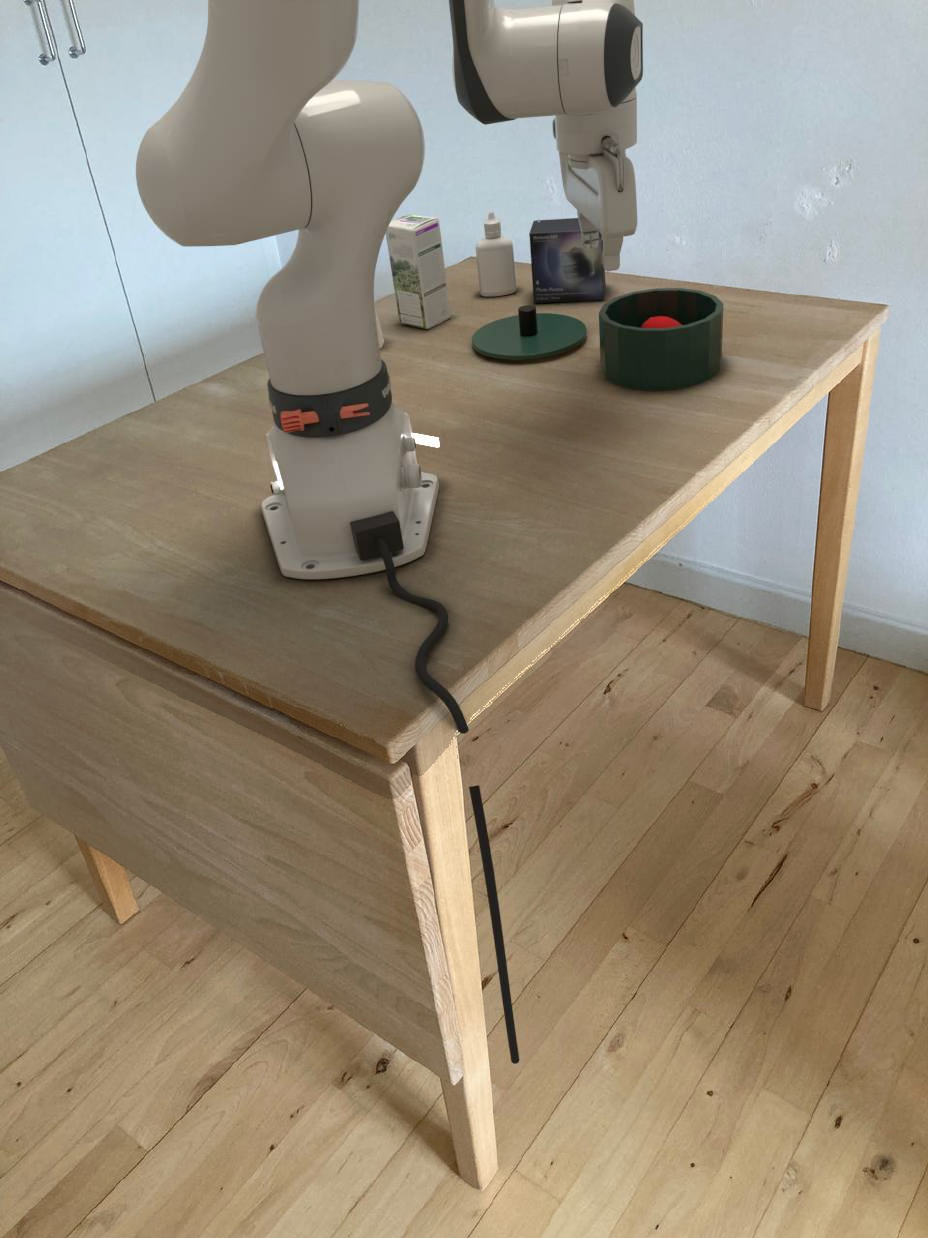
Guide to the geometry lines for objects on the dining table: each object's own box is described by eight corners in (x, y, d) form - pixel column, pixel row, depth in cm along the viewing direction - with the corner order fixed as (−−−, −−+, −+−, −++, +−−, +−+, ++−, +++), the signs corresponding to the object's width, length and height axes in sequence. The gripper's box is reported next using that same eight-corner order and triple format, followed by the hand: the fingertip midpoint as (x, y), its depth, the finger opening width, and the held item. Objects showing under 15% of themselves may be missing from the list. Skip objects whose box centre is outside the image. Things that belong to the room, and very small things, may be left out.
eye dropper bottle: (508, 298, 157) (501, 216, 150) (475, 296, 159) (467, 215, 152) (520, 289, 160) (514, 208, 153) (488, 287, 162) (480, 207, 155)
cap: (652, 348, 133) (652, 302, 130) (695, 354, 130) (696, 307, 127) (622, 371, 128) (621, 324, 125) (666, 378, 125) (666, 330, 122)
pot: (736, 380, 124) (739, 319, 119) (616, 397, 123) (615, 337, 119) (700, 338, 136) (702, 281, 131) (590, 354, 135) (588, 297, 131)
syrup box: (452, 317, 152) (440, 215, 144) (426, 330, 149) (412, 227, 141) (424, 311, 156) (411, 211, 147) (397, 325, 152) (382, 223, 144)
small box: (532, 305, 153) (527, 232, 147) (536, 290, 158) (532, 219, 152) (604, 301, 151) (602, 227, 145) (606, 286, 156) (604, 214, 150)
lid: (597, 354, 135) (596, 318, 132) (479, 371, 135) (475, 336, 132) (574, 314, 148) (573, 282, 145) (467, 330, 147) (463, 297, 145)
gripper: (651, 142, 105) (652, 279, 113) (601, 111, 122) (604, 232, 129) (590, 151, 104) (595, 287, 112) (548, 118, 121) (555, 239, 129)
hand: (600, 257), depth 121 cm, fingers open, 8 cm apart
